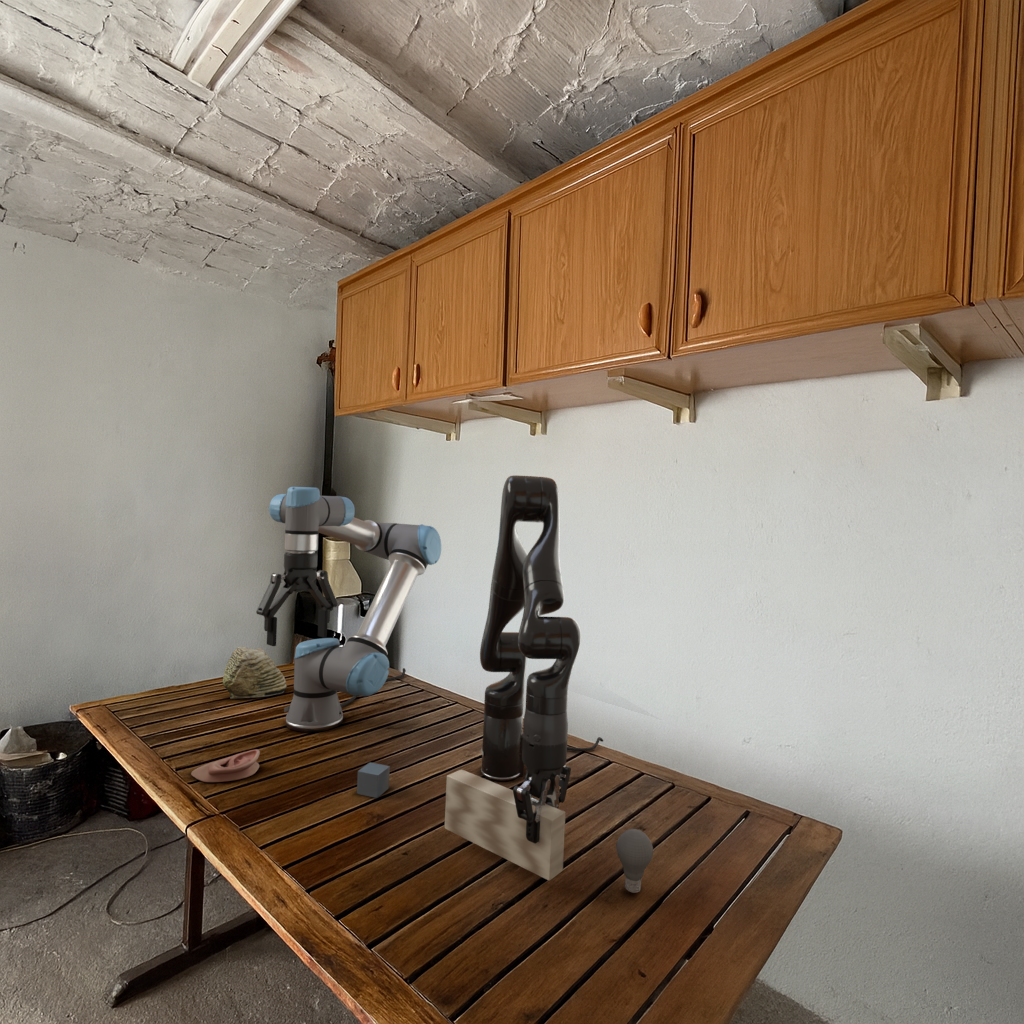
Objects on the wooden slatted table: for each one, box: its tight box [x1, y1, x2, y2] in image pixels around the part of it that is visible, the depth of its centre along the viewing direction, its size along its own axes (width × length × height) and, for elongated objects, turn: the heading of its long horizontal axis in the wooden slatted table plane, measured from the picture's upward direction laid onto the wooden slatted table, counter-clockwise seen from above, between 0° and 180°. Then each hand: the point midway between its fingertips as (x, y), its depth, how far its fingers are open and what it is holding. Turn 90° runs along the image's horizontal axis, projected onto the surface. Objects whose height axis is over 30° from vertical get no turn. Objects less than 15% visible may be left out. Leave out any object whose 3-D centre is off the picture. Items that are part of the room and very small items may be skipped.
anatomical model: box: [190, 748, 261, 783], centre depth 143 cm, size 13×4×12 cm
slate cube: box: [356, 761, 391, 799], centre depth 137 cm, size 5×5×5 cm
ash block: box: [444, 769, 566, 881], centre depth 112 cm, size 24×4×10 cm, turn 51°
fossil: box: [222, 646, 288, 699], centre depth 198 cm, size 9×18×15 cm, turn 132°
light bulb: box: [615, 828, 654, 894], centre depth 106 cm, size 6×6×10 cm
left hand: (297, 640), depth 151 cm, fingers open, 13 cm apart
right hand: (540, 835), depth 107 cm, fingers closed on ash block, 4 cm apart
